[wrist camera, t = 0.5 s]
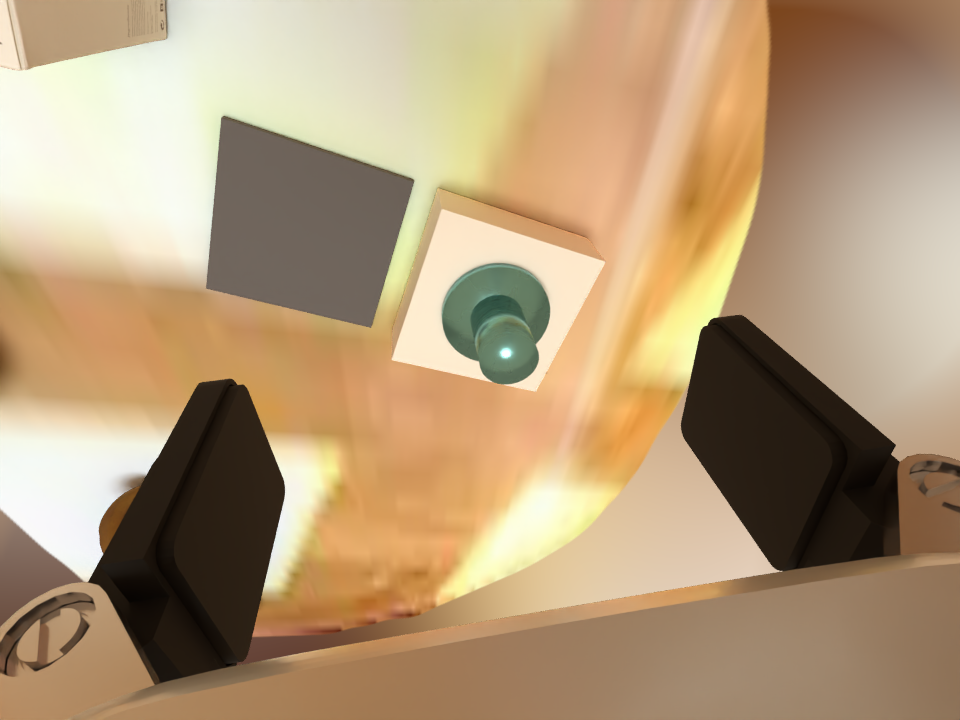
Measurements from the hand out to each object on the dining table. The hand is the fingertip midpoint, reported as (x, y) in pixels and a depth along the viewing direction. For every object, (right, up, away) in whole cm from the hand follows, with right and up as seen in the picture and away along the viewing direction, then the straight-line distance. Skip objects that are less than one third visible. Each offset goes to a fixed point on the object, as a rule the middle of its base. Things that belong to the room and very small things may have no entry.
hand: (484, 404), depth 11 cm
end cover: (+1, +8, +36) cm, 37 cm away
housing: (+1, +8, +36) cm, 37 cm away
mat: (-14, +11, +31) cm, 36 cm away
